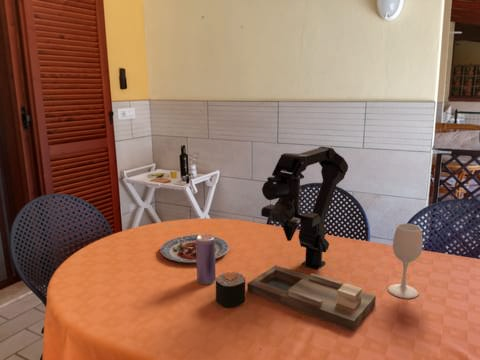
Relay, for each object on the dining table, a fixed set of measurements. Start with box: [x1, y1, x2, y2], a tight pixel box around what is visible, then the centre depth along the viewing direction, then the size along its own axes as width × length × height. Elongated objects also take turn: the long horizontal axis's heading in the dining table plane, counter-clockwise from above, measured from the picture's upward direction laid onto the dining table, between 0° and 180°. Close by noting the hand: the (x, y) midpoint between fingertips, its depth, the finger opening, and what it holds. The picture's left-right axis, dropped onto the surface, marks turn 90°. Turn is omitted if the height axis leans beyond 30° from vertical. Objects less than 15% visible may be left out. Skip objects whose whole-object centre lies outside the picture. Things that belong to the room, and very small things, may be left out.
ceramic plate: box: [160, 234, 230, 263], centre depth 157 cm, size 26×26×3 cm
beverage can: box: [196, 233, 217, 285], centre depth 133 cm, size 6×6×15 cm
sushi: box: [215, 271, 246, 309], centre depth 121 cm, size 8×8×8 cm
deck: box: [246, 264, 377, 332], centre depth 123 cm, size 16×34×4 cm, turn 53°
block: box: [337, 283, 363, 309], centre depth 115 cm, size 5×5×4 cm
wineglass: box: [387, 223, 424, 300], centre depth 125 cm, size 9×9×21 cm
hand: (289, 240), depth 134 cm, fingers closed
